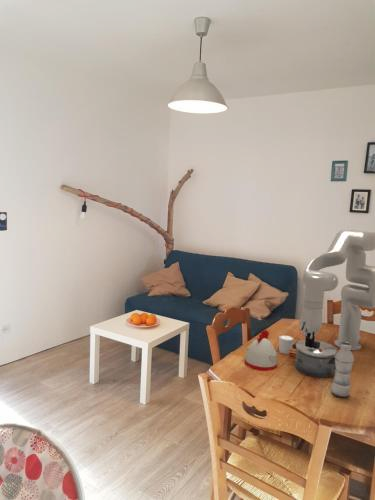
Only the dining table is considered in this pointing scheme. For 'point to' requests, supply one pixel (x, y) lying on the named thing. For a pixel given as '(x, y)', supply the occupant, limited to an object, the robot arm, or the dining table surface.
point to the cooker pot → (314, 364)
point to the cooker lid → (317, 349)
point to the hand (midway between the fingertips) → (309, 346)
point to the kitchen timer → (261, 354)
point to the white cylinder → (285, 344)
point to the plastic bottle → (342, 370)
